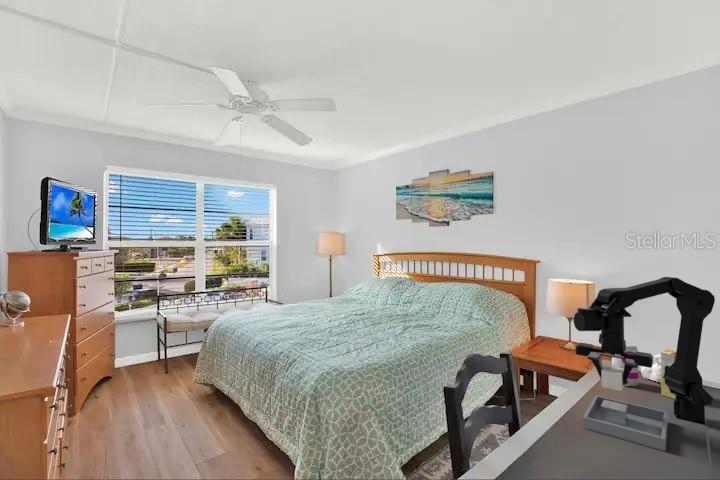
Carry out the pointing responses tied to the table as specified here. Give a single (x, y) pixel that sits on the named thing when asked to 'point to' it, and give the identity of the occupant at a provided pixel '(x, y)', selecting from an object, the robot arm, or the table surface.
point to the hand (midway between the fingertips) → (613, 382)
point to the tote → (630, 424)
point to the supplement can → (619, 363)
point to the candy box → (668, 360)
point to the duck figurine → (653, 370)
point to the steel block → (614, 412)
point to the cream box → (612, 378)
